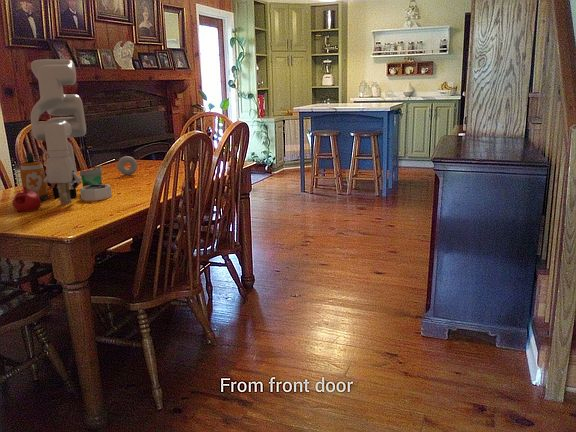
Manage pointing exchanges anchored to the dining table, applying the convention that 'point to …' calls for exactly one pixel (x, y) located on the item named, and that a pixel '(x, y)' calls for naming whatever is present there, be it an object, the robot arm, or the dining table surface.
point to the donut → (127, 160)
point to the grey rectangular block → (64, 193)
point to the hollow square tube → (95, 187)
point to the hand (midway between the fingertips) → (65, 198)
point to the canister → (33, 176)
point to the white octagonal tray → (95, 193)
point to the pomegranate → (26, 200)
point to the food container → (91, 176)
